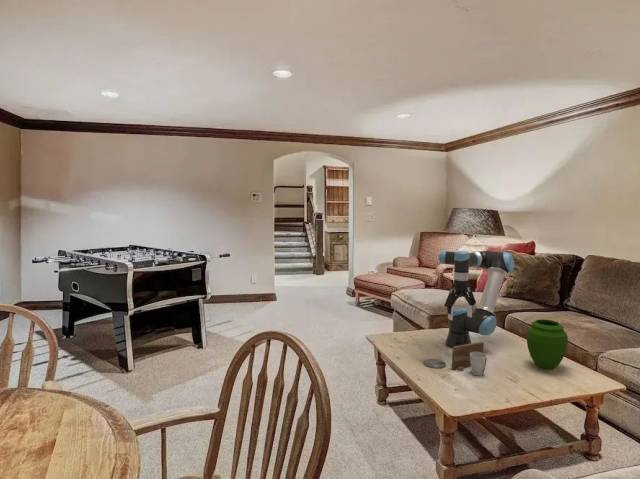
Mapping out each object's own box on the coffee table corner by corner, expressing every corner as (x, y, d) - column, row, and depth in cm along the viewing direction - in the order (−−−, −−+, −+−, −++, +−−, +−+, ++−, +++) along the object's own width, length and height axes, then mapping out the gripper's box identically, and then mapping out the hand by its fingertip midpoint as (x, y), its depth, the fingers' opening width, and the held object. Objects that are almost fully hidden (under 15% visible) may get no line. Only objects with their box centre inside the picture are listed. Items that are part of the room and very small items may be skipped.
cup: (487, 377, 203) (488, 358, 202) (470, 376, 205) (471, 357, 204) (484, 370, 211) (485, 352, 210) (468, 369, 212) (468, 351, 212)
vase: (566, 377, 202) (569, 330, 200) (523, 369, 212) (525, 324, 210) (567, 364, 219) (569, 320, 216) (526, 357, 229) (528, 315, 227)
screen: (449, 367, 215) (449, 345, 214) (477, 361, 224) (478, 340, 222) (457, 371, 210) (457, 349, 209) (485, 365, 218) (486, 343, 217)
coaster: (418, 361, 223) (418, 360, 223) (435, 358, 228) (435, 357, 228) (433, 370, 212) (433, 368, 212) (450, 366, 217) (450, 365, 217)
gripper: (447, 282, 210) (446, 322, 212) (483, 279, 220) (482, 317, 222) (438, 280, 217) (437, 318, 219) (473, 276, 227) (472, 313, 229)
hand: (460, 318), depth 220 cm, fingers open, 13 cm apart
